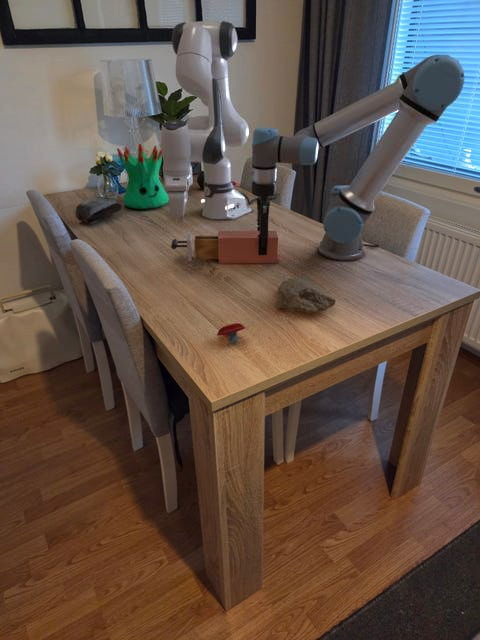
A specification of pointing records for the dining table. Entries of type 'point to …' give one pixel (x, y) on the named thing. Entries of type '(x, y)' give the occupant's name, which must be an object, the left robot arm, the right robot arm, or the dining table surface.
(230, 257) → the cabinet
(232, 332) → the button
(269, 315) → the dining table surface
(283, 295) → the artifact
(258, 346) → the dining table surface
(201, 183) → the toy
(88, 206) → the rock
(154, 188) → the toy
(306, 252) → the dining table surface
